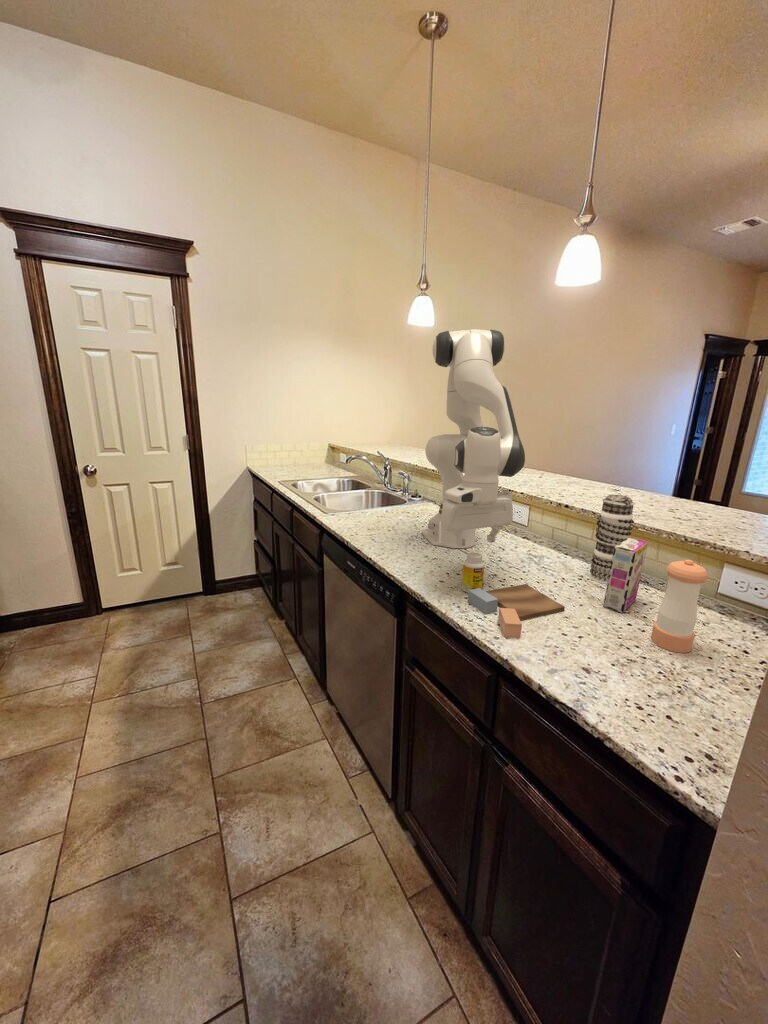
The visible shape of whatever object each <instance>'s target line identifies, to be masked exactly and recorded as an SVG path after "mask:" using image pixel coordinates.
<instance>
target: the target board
mask: <svg viewBox="0 0 768 1024" xmlns="http://www.w3.org/2000/svg"><path fill="white" fill-rule="evenodd" d="M485 591H486V592H487V593H489V594H490V595H492V596H494V597H495V598H497V599H498V605H497V607H499V608H511V609H515V610H516V612H517V615H518V617H519V619H520V621H525V620H530V619H534V618H538V617H542V616H543V617H544V616H548V615H552V614H557V613H561V612H565V609H566V607H565V605H564V604H563V605H562V604H561V603H559V602H558V601H556V600H554V599H552V598H550V597H549V596H547V594H544V593H542V592H541V591H539V590H537V589H535V588H534V587H532V586H530V585H529V584H527V583H523V584H518V585H511V586H507V587H500V588H495V589H490V590H489V589H488V590H485Z"/></svg>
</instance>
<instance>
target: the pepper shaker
mask: <svg viewBox="0 0 768 1024" xmlns="http://www.w3.org/2000/svg"><path fill="white" fill-rule="evenodd" d="M665 569H666V570H665V571H666V573H667V575H668V581H667V586H666V589H665V593H664V597H663V598H662V601H661V603H660V605H659V607H658V611H657V617H656V621H655V622H654V623H653V626H652V631H651V636H650V639H651V641H652V642H653V643H654V644H655V645H657V646H658V647H660V648H662V649H664V650H667V651H670V652H675V653H681V654H683V653H689V652H691V651H692V647H693V644H694V639H695V636H696V635H695V633H694V629H695V627H696V622H697V619H698V618H697V617H698V599H699V596H700V591H701V587H702V584H704V583H706V581H707V580H708V579H709V574H708V572H707V570H706V568H705V567H703V566H702V565H699V564H697V563H695V562H694V561H693V560H691V559H685V560H677V561H671V562H670V563H669V564H668V565H667V566H666V568H665Z"/></svg>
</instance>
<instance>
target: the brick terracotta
mask: <svg viewBox="0 0 768 1024" xmlns="http://www.w3.org/2000/svg"><path fill="white" fill-rule="evenodd" d="M521 621H522V620H521ZM521 621H520V619H519V617H518V615H517V612H516V610H515V609H511V608H500V607H499V608H498V619H497V622H498V623H499V624H500V625H499V627H500V629H501V632H503V633H502V635H504V636H503V637H504V638H513V637H516V638H517V639H518V638H519V639H520V638H521V636H522V627H523V623H522V622H521Z"/></svg>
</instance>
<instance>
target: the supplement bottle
mask: <svg viewBox="0 0 768 1024" xmlns="http://www.w3.org/2000/svg"><path fill="white" fill-rule="evenodd" d="M462 564H463V565H462V575H461V576H462V577H461V590H462V591H463V592H465V593H467V594H468V591H469V590H472V589H476V588H481V589H482V590H483V582H484V574H485V573H484V572H485V563H484V561H483V555H482V554H481V553H479V552H476V551H475V552H474V551H473V552H469V553H467V554H466V558H465V560H464V561H463V563H462Z"/></svg>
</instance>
